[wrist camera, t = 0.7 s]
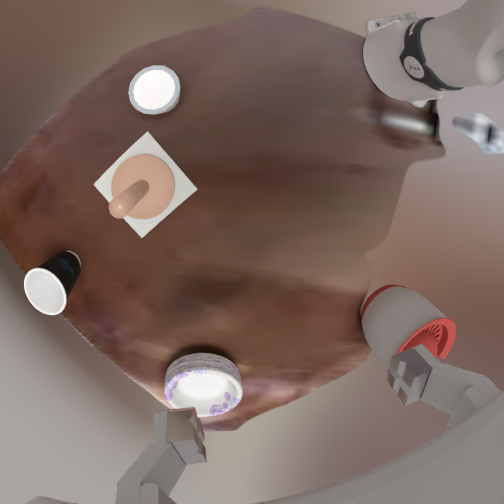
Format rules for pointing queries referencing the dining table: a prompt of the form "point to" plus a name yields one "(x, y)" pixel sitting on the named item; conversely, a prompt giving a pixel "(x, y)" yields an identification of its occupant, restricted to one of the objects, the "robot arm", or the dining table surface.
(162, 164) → the peg on round base
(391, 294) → the citrus juicer
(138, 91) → the white round tub
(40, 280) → the dixie cup
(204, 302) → the dining table surface
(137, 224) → the mat
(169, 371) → the paper bowls
